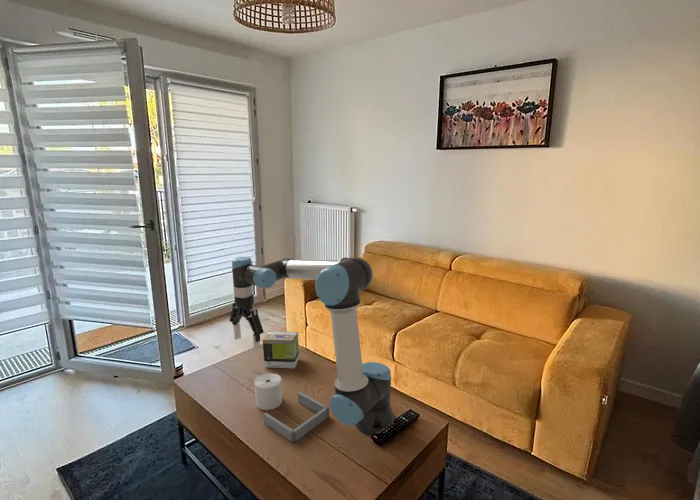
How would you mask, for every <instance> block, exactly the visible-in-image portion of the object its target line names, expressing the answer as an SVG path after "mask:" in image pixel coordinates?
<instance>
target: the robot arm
mask: <svg viewBox="0 0 700 500" xmlns="http://www.w3.org/2000/svg"><path fill="white" fill-rule="evenodd" d="M231 261H232V262H231V273H232V283H233V295H234V303H233V302H232V308H231V312H230V317H229V322H230V323H231V324H232V325H233V326H232V328H233V335H234V337H233V338H234V340H236V341H237V340H238V339H241V338H242V333H241V331H242V330H241V323H240V321H241V319H242V318H243V319H245V320H246V321H247V322H248V325H249V326H250V328H251V330H252V332H253V333H252V341H253V342H252V344H253V350H254V351H255V350H257V349H260V348H261V335H262V334H264V329H263V325H262V323H261V322H262V321H261V320H260V317H259V316H260V315H259V312H258V309H257V308H256V309H253V305H254V303H255V298H254V287H253V286H256V287H257V288H261V289H262V288H263V289H270V288H272V287H273V285H275V284H276V282H277V281H280V280H282V279H301V280H315V283H314V285H315V286H314V288H315V293H316V295H317V297H318V298H319V300H320V302H321V303H322V304H324V307H325V309H327V310H328V311H329V312H330V319H331V320H330V321H331V328H332V336H333V345H334V354H335V362H336V372H337V378H336V379H335V380H334V382H333V385H334V392H335V393H334V394H333V395H332V396H331V398H330V399H329V409H330V411H331V413H332V415H333V416H334V417H335V418H336V419H337V420H338V422H339V421H340V423H342V424H343V425H347V426H356V429H358V431H360V432H362V433H363V434H367V435H370V434H374V433H376V432H377V431H379V430H381V429H383V428H385V427H387V426H389V425H391V424H392V423H393V422H394V420H395V413H394V412H393V409H392V405H391V393H392V391H391V389H392V388H391V387H392V386H391V385H392V383H391V381H392V373H391V369H390V368H389V367H388V365H385V364H384V363H381V362H377V361H376V362H375V361H369V362H364V363H363V362H362V361H363V359H362V350H361V349H362V348H361V342H360V341H361V340H360V331H359V322H358V321H359V319H358V312H357V308H358V307H359V305H360V304H361V296H360V293H361V292H362V291H364V290H366V289H367V288H368V287H369V286H370V284H371V282H372V280H373V277H374V275H373V268H372V267H371V265H370V263H369V262H368V261H367V260H366V259H364V258H361V257H358V256H357V257H342V258H340V260H337V259H336V260H334V259H331V260H329V259H328V260H326V259H325V260H324V259H323V260H322V259H295V258H293V257H285V258H282V259H279V260H276V261H273V262H270V263H266V264H263V265H255V264H253V262H252V259H251V257H250V256H238V257H234V258H233V259H231Z"/></svg>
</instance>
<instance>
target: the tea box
mask: <svg viewBox="0 0 700 500" xmlns="http://www.w3.org/2000/svg"><path fill="white" fill-rule="evenodd" d="M299 347H300V346H299V333H298V331H282V330H281V331H280V330H278V331H277V330H275V331H271V330H269V331H268V332H267V333H266V334H265V336H264V338H263V339H262V349H263V353H262V354H263V362H264V368H273V369H274V368H275V369H277V368H278V369H296V367H297V364H298V362H299V360H300V351H299V350H300V348H299Z"/></svg>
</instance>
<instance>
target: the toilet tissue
mask: <svg viewBox="0 0 700 500" xmlns="http://www.w3.org/2000/svg"><path fill="white" fill-rule="evenodd" d="M258 374H259V373H256V374H255V376H254V380H253V381H254V382H253V384H254V385H253V386H254V395H255V406H256V408H258V409H260V410H263V411H269V410H270V411H272V410H275V409H276V408H278V407H279V406H280V405H281V404H282V402H283V393H282V391H283V388H282V387H283V386H282V377H281V375H279V374H277V373H264V374H261V375H258Z"/></svg>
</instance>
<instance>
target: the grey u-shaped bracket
mask: <svg viewBox="0 0 700 500" xmlns="http://www.w3.org/2000/svg"><path fill="white" fill-rule="evenodd" d="M297 402H298V403H299V404H301V405H303V406H304V407H307V408H308V409H310V410H312V411H313V412H315V414H314V415H312V416H311V417H310V418H308V419H307V420H305V421H304V422H303V423H301V424H300V425H299V426H297V427H295V428H294V429H292V428H291V427H289V426H287V425H286V424H284V423H283V422H281V421H280V420H279V419H276V418H275V417H274V416H272V415H270V414H269V413H267V412H265V413H263V423H264V425H266V426H267V427H269V428H270V429H271V430H273V431H275V432H276V433H277V434H279V435H281V436H282V437H283V438H285V439H286V440H289V442H291V443H292V444H294V443H296V442H297V441H299V440H300V439H301V438H303V437H304V436H305V435H307V434H308V433H309V432H310V431H312V430H313V429H314V428H316V427H317V426H318V425H320V424H321V423H322V422H324V421H325V420H327V419H328V418H329V417H330V406H327V405H325V404H323V403H321V402H319V401H317V400H316V399H315V398H312V397H310V396H309V395H307V394H305V393H303V392H302V391H299V392H297Z"/></svg>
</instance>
